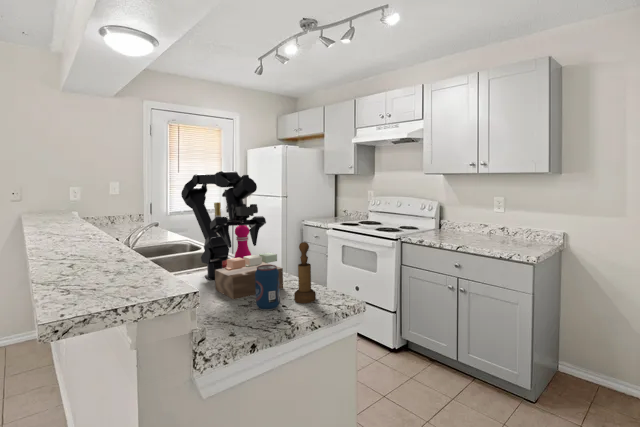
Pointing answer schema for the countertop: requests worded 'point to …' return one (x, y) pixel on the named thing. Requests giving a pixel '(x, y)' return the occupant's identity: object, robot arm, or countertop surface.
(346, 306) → the countertop surface
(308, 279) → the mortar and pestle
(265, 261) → the sage key
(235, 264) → the terracotta key
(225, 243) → the robot arm
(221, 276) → the keypad console
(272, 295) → the soda can
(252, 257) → the cream key
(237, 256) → the pepper mill
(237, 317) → the countertop surface
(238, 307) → the countertop surface
